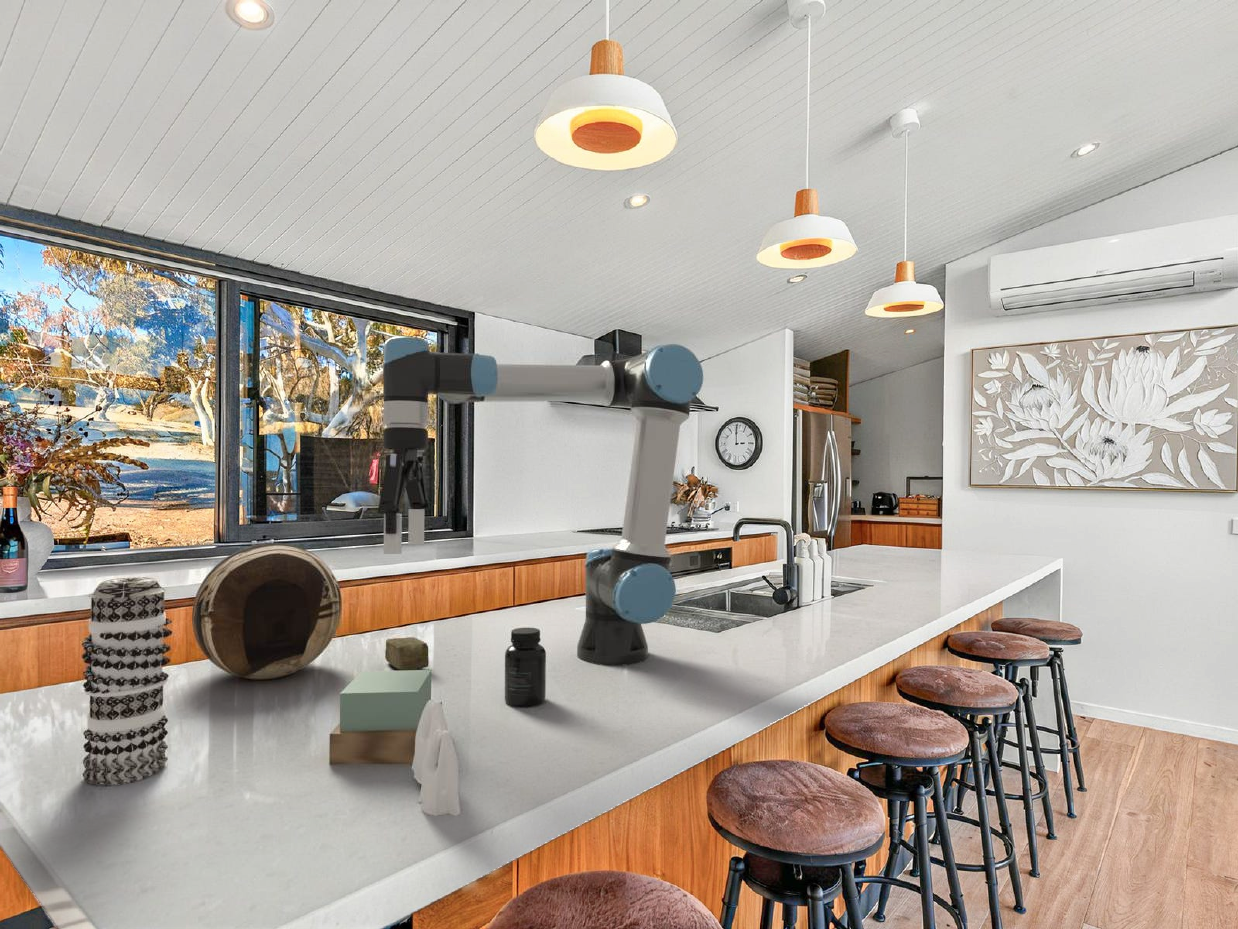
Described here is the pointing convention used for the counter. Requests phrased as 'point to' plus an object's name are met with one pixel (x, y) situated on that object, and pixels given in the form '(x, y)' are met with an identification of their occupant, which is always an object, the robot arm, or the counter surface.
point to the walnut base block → (372, 746)
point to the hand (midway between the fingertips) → (405, 549)
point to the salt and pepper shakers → (436, 763)
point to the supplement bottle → (525, 669)
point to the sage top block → (385, 700)
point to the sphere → (266, 611)
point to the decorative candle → (125, 681)
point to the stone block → (407, 653)
